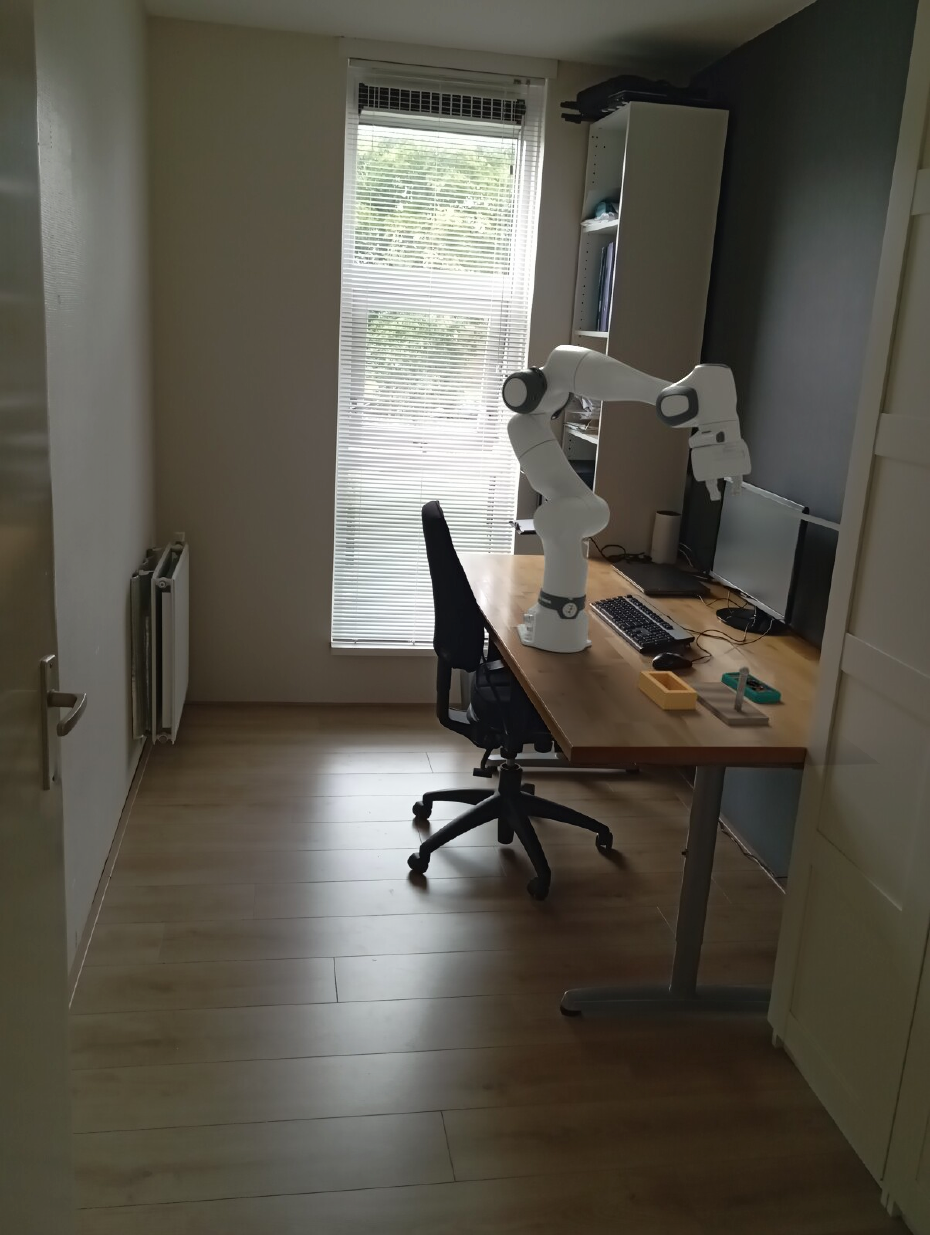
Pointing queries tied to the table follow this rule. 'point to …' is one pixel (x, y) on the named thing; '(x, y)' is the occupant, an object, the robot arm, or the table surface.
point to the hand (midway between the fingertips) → (726, 498)
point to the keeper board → (729, 701)
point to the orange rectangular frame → (667, 690)
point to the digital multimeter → (752, 688)
